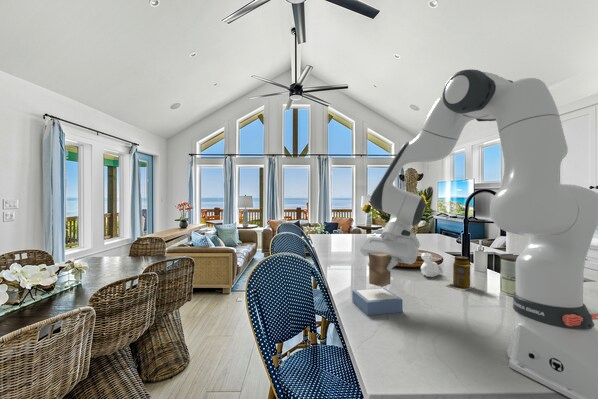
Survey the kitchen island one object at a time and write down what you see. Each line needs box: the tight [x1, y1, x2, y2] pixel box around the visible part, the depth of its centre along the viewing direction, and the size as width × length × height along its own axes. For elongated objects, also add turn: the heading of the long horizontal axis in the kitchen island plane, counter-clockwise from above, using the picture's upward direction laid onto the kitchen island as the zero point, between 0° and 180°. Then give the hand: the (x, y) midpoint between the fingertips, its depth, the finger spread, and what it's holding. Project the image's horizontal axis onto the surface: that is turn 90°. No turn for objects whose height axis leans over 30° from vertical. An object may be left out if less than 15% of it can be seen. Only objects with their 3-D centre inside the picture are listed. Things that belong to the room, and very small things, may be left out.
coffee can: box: [499, 253, 519, 298], centre depth 106 cm, size 10×10×14 cm
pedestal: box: [351, 287, 404, 316], centre depth 95 cm, size 12×12×4 cm
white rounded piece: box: [420, 252, 440, 278], centre depth 133 cm, size 12×8×11 cm
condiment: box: [445, 255, 475, 291], centre depth 115 cm, size 7×8×12 cm
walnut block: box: [368, 253, 392, 288], centre depth 96 cm, size 5×5×10 cm
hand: (378, 268), depth 96 cm, fingers closed on walnut block, 5 cm apart
